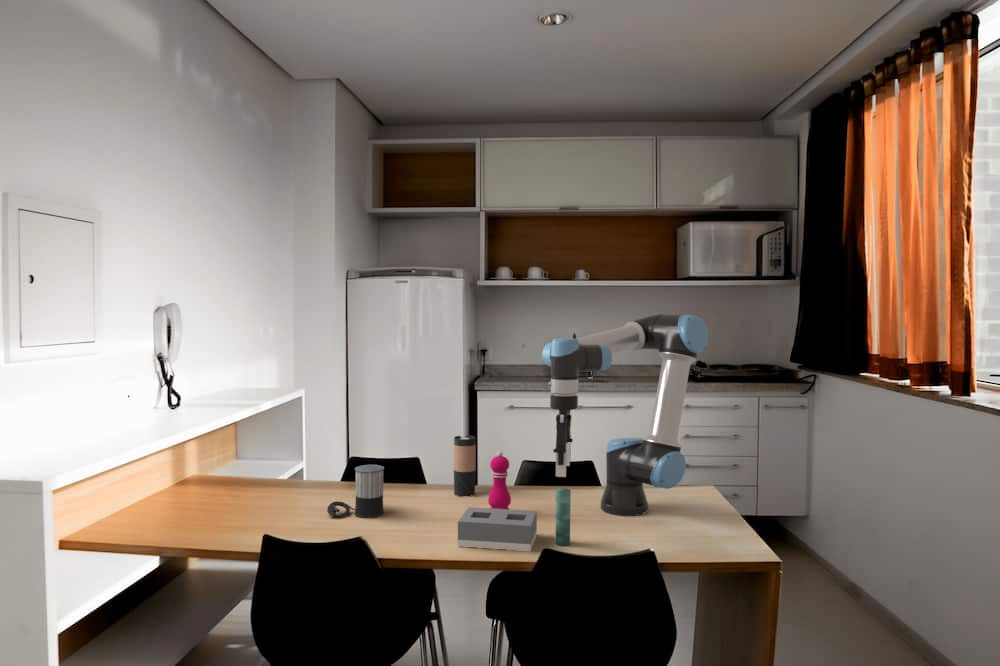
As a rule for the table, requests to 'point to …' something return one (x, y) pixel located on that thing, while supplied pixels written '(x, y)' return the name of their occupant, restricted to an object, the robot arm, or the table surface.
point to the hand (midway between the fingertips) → (562, 471)
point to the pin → (563, 516)
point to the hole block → (498, 529)
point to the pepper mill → (499, 483)
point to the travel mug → (464, 465)
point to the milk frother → (364, 494)
